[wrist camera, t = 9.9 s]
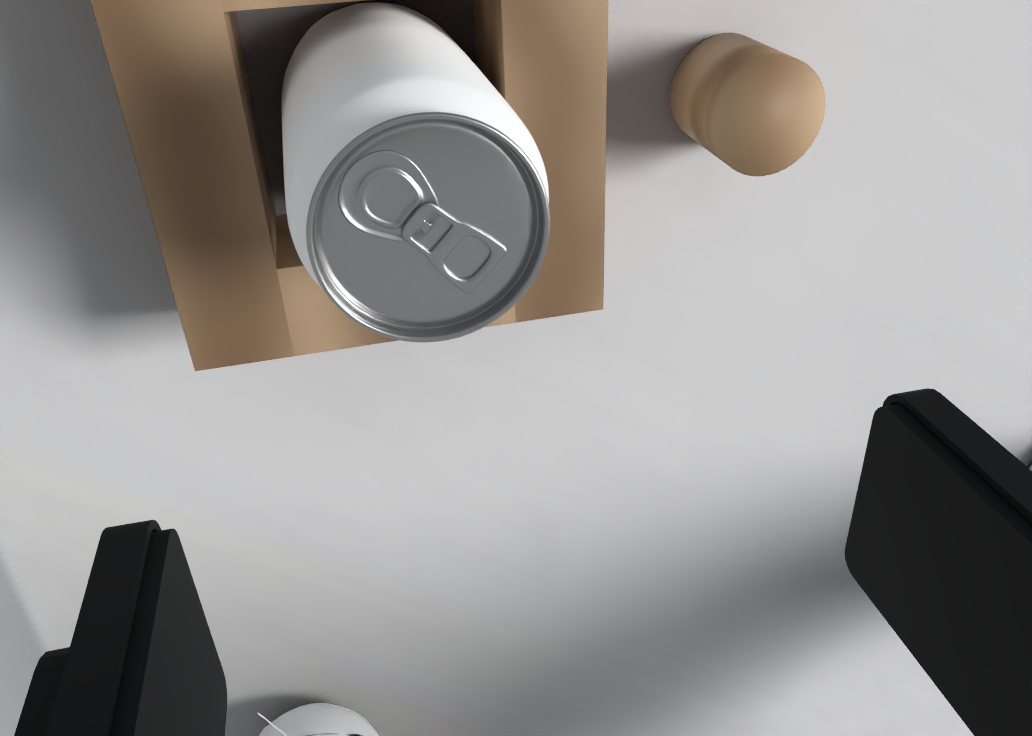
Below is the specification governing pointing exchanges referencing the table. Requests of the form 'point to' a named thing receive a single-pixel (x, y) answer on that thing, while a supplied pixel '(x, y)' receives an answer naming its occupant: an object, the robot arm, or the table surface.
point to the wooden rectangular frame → (245, 185)
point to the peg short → (747, 103)
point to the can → (408, 177)
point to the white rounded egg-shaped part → (319, 722)
